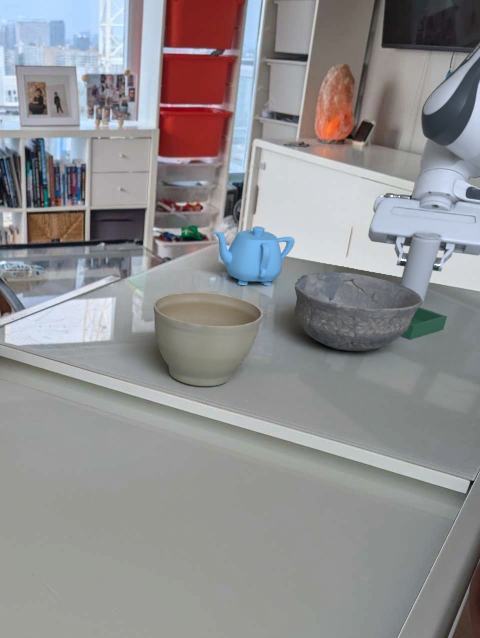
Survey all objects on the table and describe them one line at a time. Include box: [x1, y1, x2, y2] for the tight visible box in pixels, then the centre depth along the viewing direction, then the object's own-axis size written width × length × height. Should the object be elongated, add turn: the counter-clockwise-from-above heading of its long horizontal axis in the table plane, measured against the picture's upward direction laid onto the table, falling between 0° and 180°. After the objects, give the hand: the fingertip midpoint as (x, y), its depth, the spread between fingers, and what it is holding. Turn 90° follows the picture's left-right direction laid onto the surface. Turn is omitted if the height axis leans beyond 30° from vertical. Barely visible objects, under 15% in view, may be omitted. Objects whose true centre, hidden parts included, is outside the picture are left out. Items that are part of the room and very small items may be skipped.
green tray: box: [400, 306, 448, 340], centre depth 141 cm, size 10×10×2 cm
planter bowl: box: [153, 291, 264, 387], centre depth 116 cm, size 16×16×11 cm
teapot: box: [211, 226, 296, 286], centre depth 159 cm, size 13×14×11 cm
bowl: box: [294, 271, 423, 352], centre depth 129 cm, size 21×21×10 cm
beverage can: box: [399, 231, 441, 304], centre depth 136 cm, size 5×5×12 cm
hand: (419, 266), depth 135 cm, fingers closed on beverage can, 5 cm apart
